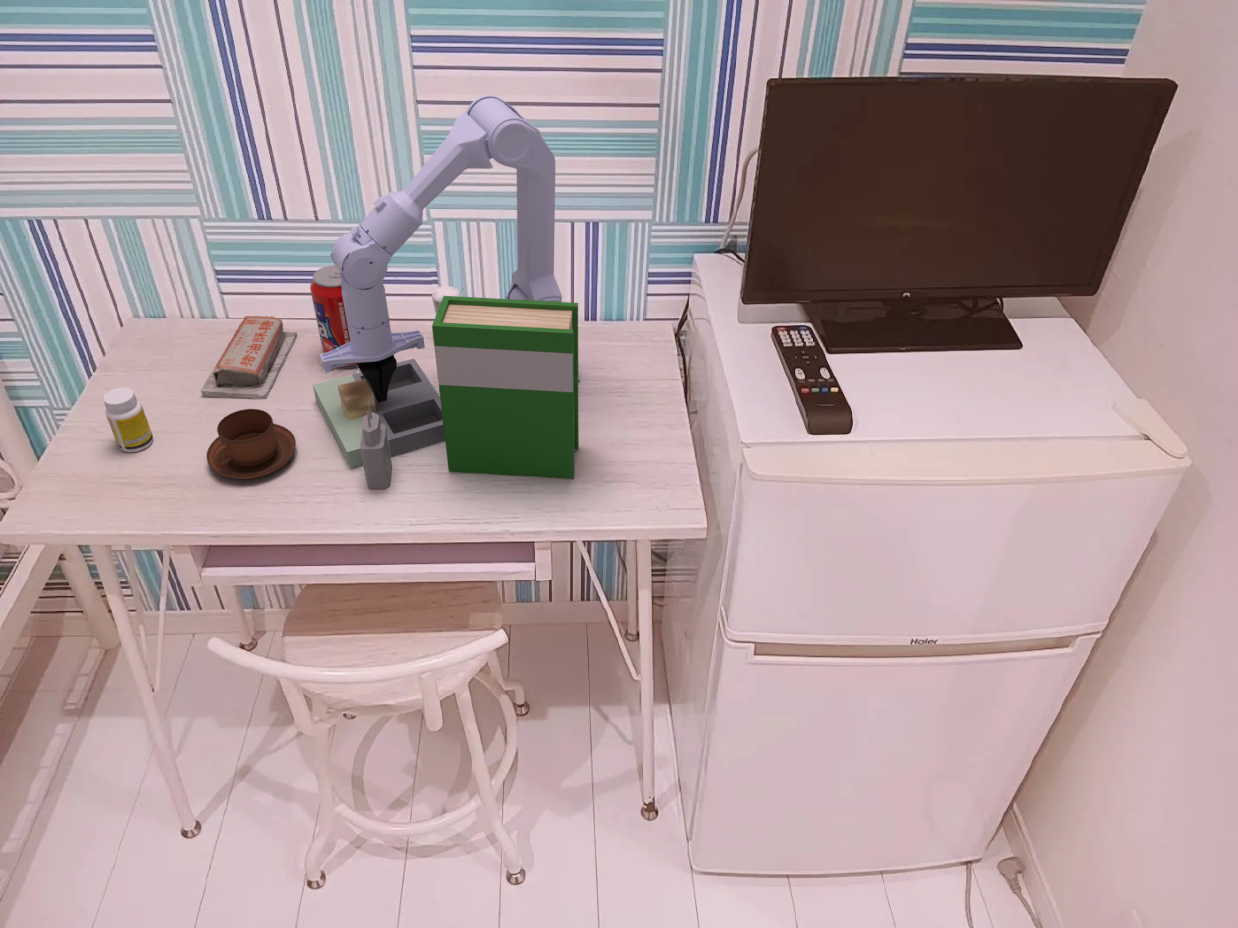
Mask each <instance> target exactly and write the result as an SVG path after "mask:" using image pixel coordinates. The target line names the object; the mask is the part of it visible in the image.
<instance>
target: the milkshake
mask: <svg viewBox="0 0 1238 928" xmlns="http://www.w3.org/2000/svg"><path fill="white" fill-rule="evenodd" d="M463 289H464V286H462V289H461V291H459V290H458V289H457V288H456V287H453V286H451V285H443V286H442V285H441V286H438V287H436V289H434V290H433V292H432V295H431V299H432V302H433V308H434V311H435V315H436V314H437V312H438V309H439V307H440V304H441V301H442V299H443V296H458V297H461V294H462V291H463Z"/></svg>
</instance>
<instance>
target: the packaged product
mask: <svg viewBox="0 0 1238 928" xmlns="http://www.w3.org/2000/svg"><path fill="white" fill-rule="evenodd" d="M297 335H298V333H297V332H296V331H295V332H294V331H292V332H291V331H284V323H283V320H282V319H280V318H279V317H275V316H272V315H271V316H267V315H265V316H262V315H261V316H260V315H246V316H244V317H243V320H241V322H240V324H239V325H238V327H237V329H236V330H235V332H234V334H233V336H232V338H231V339H230V341H229V343H228V345H227V346H226V347H225V350H224V351H223V352H222V354H221V356H220V358H219V359H218V361H217V363H216V365H215V366H214V367H213V370H212V371H211V372H210V374H209V376H208V377H207V379H206V381H205V382H204V384H203V386H202V387H201V389H200V393H201V394H202V396H203V397H205V398H221V399H222V398H224V399H225V398H228V399H252V400H253V399H254V400H265V399H267V397H268V396H269V394H270V392H271V390H272V387H273V385H274V383H275V381H276V380H277V379H276V378H277V376H278V375H279V373H280V371H281V369H282V367H283V365H285V363H286V360H287V358H288V354H289V353H290V351H291V349H292V347H293V345H294V343H295V341H296V338H297Z"/></svg>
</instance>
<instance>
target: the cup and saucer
mask: <svg viewBox="0 0 1238 928" xmlns="http://www.w3.org/2000/svg"><path fill="white" fill-rule="evenodd" d="M216 433H217V434H218V436H217V437H216V438H215V439H214V440H213V441H212V442H211V444H209V447H208V449H207V451H206V461H207V463H208V465H209V466H210V468H211V469H212V470H213V471H214V472H215V473H217V474H219V475H221V476H224V477H227V478H230V479H237V480H238V479H239V480H249V479H256V478H261V477H264V476H266V475H269V474H271V473H273V472H276V471H277V470H279V469H280V468H282V467H283V466H285V464H287V462H288V461H290V459H291V458H292V457H293V455H294V453H295V450H296V447H297V446H296V445H297V440H296V437H295V436H294V434H293V433H292V431H291V430H289V428H286V427H285V426H283V425H280V424H277V423H274V420H273V417H272V415H271V414H269V413H268V412H267V411H265V410H263V409H258V408H246V409H244V408H243V409H239V410H236V411H233V412H231V413H229V414H227V415H226V416H224V417H223V418H222V419H221V420H220V421H219V423H217V428H216Z"/></svg>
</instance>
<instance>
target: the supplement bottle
mask: <svg viewBox="0 0 1238 928" xmlns="http://www.w3.org/2000/svg"><path fill="white" fill-rule="evenodd" d="M102 401H103V403H104V406H105V412H104V413H105V417H106V418H107V422H108V424H109V426H110V429H111V431H112V434H113V438H114V439H115V442H116V444H117V447H118V448H119V449H120V451H123V452H126V453H137V452H140V451H144V450H146V448H148V447H149V446H151V445H152V443H153V442H154V436H153V435H154V434H153V433H152V430H151V428H150V425H149V421H148V418H147V416H146V414H145V411H144V408H143V405H142V404H141V402H140V401H139V400H138V399H137V396H136V395H135V392H134V390H133V389H131V388H129V387H117V388H114V389H111V390H109V391H107V392H106V393H105V394H104V396H103V399H102Z"/></svg>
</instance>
